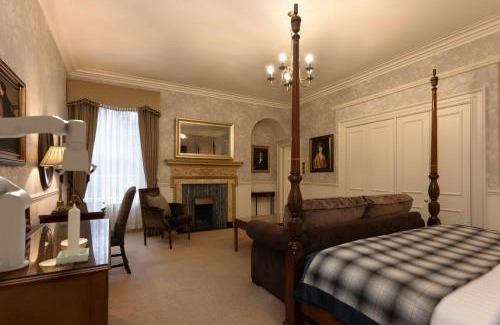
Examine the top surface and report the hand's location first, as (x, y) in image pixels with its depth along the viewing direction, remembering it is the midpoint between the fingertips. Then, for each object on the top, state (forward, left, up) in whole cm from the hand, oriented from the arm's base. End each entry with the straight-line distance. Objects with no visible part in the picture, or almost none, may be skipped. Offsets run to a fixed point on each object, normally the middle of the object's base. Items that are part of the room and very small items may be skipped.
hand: (74, 183), depth 124 cm
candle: (0, 0, -35) cm, 35 cm away
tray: (0, 0, -35) cm, 35 cm away
